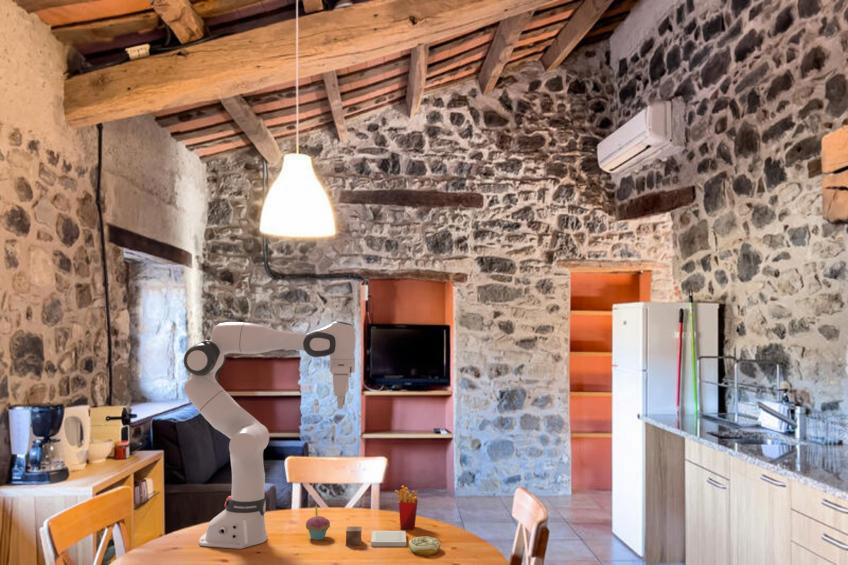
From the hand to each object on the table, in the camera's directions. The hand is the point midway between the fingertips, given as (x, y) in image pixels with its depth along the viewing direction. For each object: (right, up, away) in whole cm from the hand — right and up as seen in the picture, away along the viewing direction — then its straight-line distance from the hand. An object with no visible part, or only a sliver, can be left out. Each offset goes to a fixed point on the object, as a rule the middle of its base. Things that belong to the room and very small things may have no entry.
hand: (341, 407), depth 230 cm
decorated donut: (+29, -46, -11) cm, 56 cm away
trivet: (+17, -46, -2) cm, 49 cm away
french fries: (+22, -48, +12) cm, 54 cm away
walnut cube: (+5, -46, -6) cm, 46 cm away
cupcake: (-8, -46, 0) cm, 47 cm away
